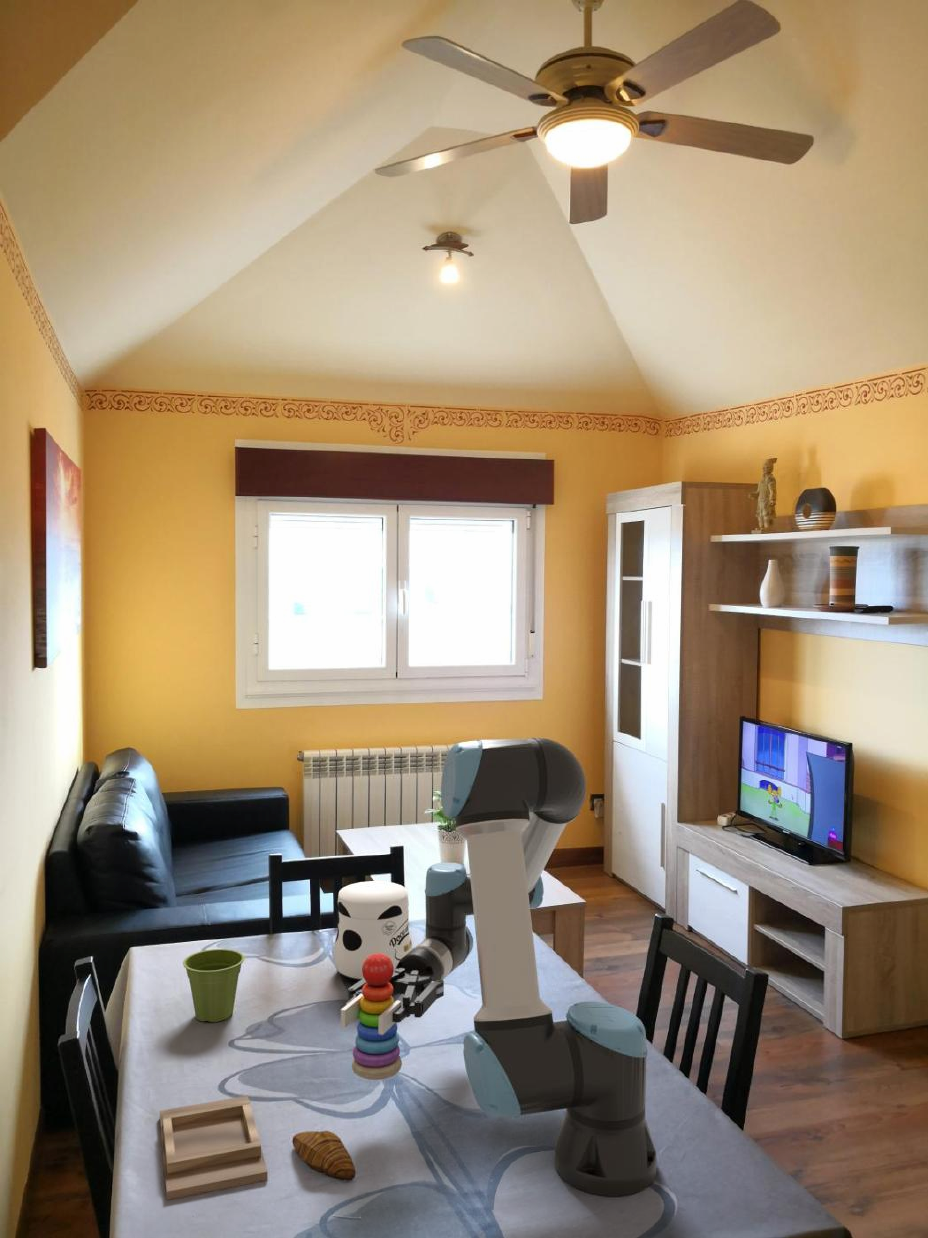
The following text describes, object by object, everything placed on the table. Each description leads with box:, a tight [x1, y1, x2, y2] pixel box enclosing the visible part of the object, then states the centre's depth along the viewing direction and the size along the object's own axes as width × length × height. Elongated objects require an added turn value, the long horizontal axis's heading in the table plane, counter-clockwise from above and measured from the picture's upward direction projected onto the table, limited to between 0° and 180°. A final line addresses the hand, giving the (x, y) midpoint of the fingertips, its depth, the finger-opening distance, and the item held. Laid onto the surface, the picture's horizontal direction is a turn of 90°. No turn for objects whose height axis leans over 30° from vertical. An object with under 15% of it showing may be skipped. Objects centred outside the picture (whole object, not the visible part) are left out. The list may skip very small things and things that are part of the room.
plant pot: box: [182, 948, 245, 1023], centre depth 196 cm, size 12×12×11 cm
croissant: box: [291, 1130, 356, 1182], centre depth 148 cm, size 14×7×5 cm, turn 47°
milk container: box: [333, 880, 414, 982], centre depth 217 cm, size 17×17×18 cm
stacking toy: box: [351, 953, 403, 1081], centre depth 159 cm, size 8×8×19 cm
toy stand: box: [159, 1095, 269, 1201], centre depth 152 cm, size 22×14×3 cm, turn 20°
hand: (361, 1022), depth 154 cm, fingers closed on stacking toy, 6 cm apart
